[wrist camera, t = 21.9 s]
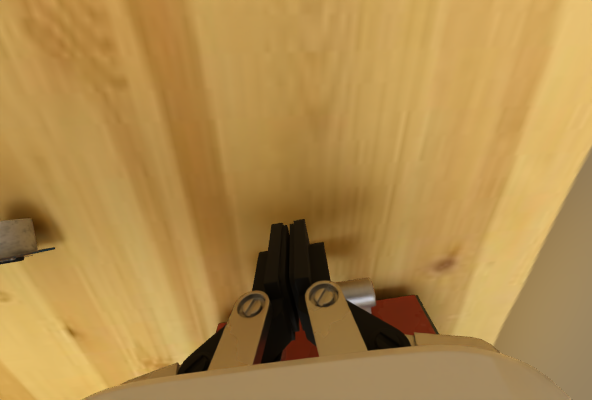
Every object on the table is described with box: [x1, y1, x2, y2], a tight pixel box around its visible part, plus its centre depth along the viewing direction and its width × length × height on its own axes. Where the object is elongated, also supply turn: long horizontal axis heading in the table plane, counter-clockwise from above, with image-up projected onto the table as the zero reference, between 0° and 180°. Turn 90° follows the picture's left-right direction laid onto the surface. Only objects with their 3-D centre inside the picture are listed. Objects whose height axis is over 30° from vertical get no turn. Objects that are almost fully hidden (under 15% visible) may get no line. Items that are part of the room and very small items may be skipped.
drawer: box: [216, 278, 436, 361], centre depth 17 cm, size 21×13×5 cm, turn 11°
